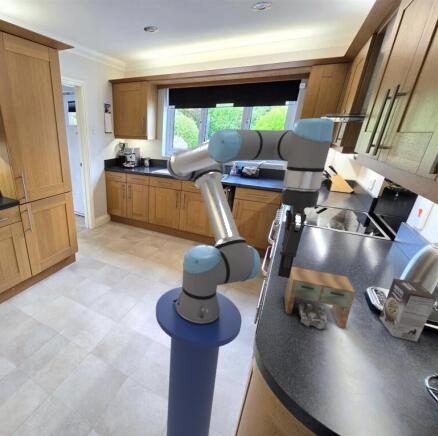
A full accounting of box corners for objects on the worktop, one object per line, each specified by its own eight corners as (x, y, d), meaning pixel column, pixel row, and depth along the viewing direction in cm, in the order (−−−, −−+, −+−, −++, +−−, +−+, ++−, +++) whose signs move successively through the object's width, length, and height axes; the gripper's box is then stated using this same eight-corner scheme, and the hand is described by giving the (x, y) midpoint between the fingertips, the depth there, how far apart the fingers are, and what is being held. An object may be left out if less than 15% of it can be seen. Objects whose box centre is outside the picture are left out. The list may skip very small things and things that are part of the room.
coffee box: (378, 318, 85) (392, 277, 80) (401, 322, 82) (418, 281, 78) (391, 336, 77) (408, 292, 72) (418, 342, 74) (438, 297, 69)
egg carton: (297, 306, 90) (299, 297, 89) (321, 312, 87) (324, 303, 86) (299, 324, 81) (301, 314, 80) (326, 332, 78) (329, 321, 77)
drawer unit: (286, 313, 87) (293, 279, 82) (284, 297, 95) (290, 266, 91) (344, 328, 80) (356, 292, 75) (336, 310, 88) (346, 276, 84)
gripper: (325, 195, 50) (302, 292, 58) (314, 185, 62) (296, 268, 69) (284, 192, 53) (268, 284, 61) (281, 183, 65) (267, 262, 72)
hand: (283, 275), depth 65 cm, fingers closed
